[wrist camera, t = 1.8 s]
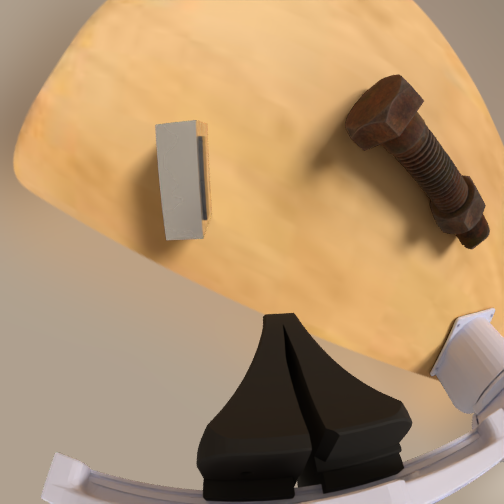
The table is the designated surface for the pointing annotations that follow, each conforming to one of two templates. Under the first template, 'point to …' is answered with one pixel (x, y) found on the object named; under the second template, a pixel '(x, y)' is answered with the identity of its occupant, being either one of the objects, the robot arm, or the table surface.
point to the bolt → (419, 156)
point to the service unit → (184, 178)
